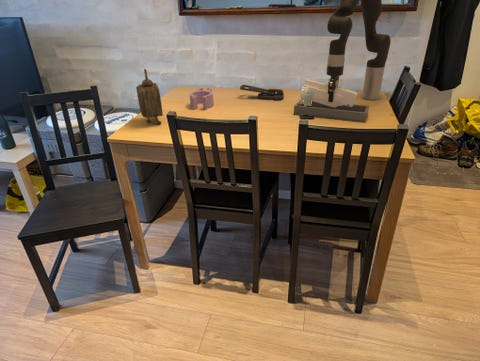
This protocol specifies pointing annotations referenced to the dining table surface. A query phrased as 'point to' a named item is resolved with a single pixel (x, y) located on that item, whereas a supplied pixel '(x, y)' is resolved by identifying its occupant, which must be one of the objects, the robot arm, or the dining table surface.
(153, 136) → the dining table surface
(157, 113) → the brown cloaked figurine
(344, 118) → the grey rectangular tray
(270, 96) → the black elongated piece
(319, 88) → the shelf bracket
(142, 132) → the dining table surface
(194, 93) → the clip
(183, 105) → the dining table surface
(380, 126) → the dining table surface
